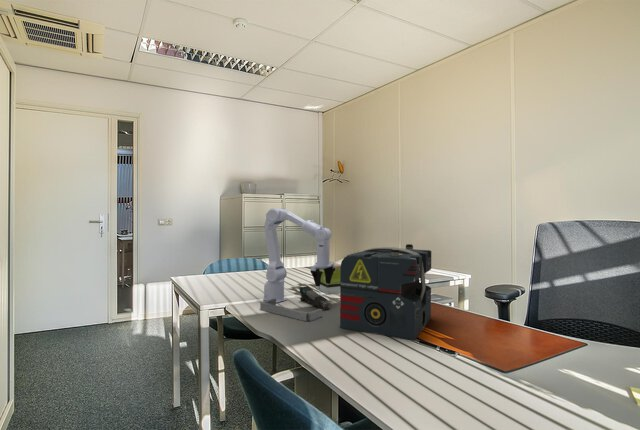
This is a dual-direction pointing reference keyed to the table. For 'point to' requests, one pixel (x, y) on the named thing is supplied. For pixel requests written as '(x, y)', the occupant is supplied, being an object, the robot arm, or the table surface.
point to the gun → (314, 298)
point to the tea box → (335, 281)
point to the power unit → (386, 291)
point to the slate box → (289, 311)
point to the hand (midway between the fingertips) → (322, 284)
